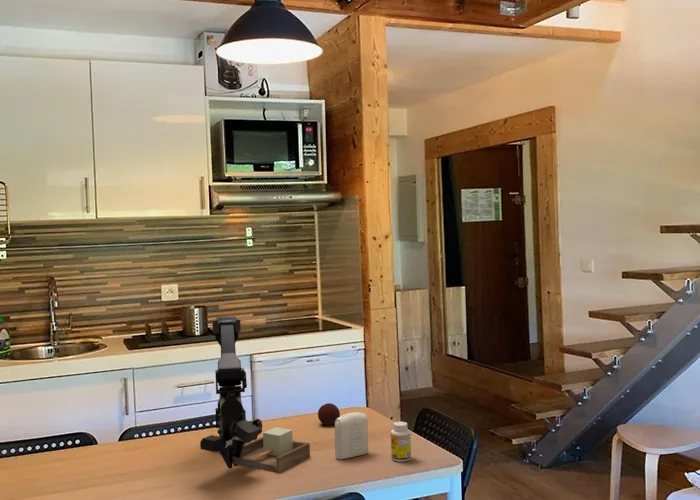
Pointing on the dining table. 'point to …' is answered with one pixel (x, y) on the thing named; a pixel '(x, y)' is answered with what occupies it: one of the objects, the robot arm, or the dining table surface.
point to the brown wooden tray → (276, 462)
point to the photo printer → (351, 435)
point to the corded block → (269, 446)
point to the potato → (328, 414)
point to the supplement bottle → (400, 442)
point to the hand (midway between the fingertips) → (232, 467)
